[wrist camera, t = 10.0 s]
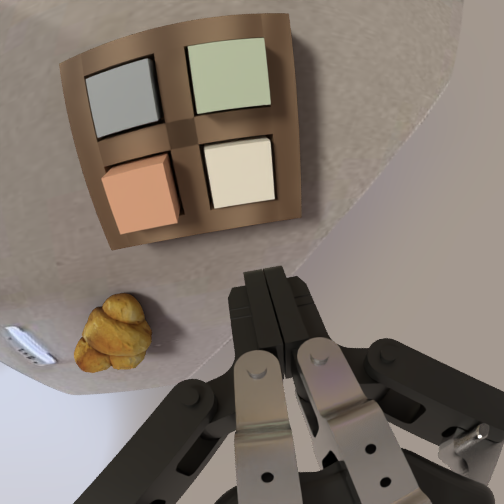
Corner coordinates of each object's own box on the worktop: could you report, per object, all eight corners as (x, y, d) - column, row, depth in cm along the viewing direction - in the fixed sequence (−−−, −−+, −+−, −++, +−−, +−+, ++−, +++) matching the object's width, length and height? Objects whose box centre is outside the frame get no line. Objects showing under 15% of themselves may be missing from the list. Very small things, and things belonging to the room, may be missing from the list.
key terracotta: (168, 152, 20) (162, 162, 18) (180, 206, 23) (177, 222, 21) (113, 166, 20) (101, 178, 18) (128, 217, 23) (120, 234, 21)
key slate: (155, 61, 17) (147, 58, 14) (164, 116, 20) (157, 120, 17) (99, 78, 17) (85, 79, 14) (109, 130, 19) (97, 137, 17)
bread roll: (108, 273, 30) (90, 323, 23) (173, 308, 34) (170, 359, 28) (80, 326, 34) (67, 369, 28) (134, 351, 39) (129, 394, 32)
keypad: (276, 23, 17) (288, 13, 14) (289, 199, 28) (301, 217, 25) (79, 64, 16) (59, 63, 13) (121, 229, 27) (111, 250, 24)
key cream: (262, 133, 22) (270, 140, 20) (267, 186, 25) (274, 199, 23) (204, 142, 22) (204, 150, 19) (213, 194, 25) (214, 208, 22)
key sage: (256, 43, 16) (264, 37, 14) (262, 101, 19) (270, 104, 17) (190, 51, 16) (187, 46, 14) (198, 110, 19) (197, 114, 16)
